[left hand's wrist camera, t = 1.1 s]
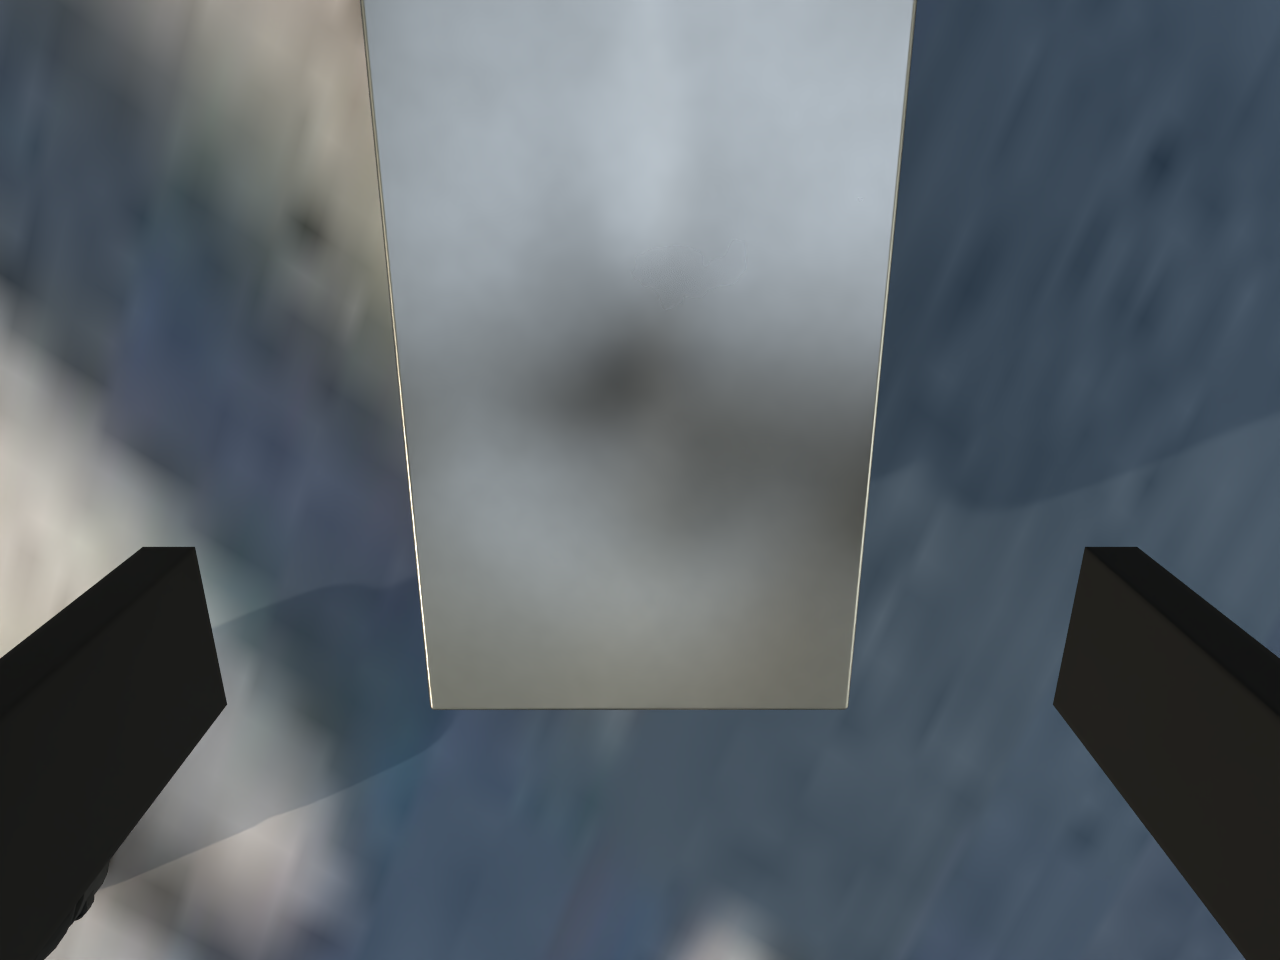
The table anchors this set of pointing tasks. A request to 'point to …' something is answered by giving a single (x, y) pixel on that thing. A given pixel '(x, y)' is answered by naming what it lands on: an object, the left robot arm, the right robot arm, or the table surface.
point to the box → (638, 337)
